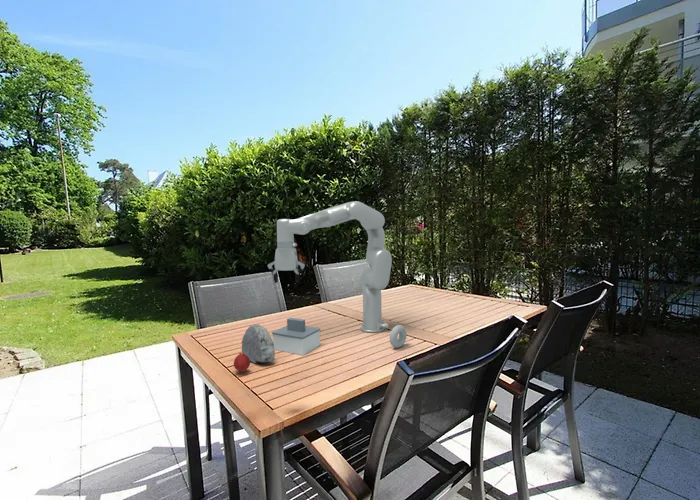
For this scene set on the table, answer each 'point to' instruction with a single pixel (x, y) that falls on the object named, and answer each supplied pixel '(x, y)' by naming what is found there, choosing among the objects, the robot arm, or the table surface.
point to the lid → (296, 329)
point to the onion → (241, 362)
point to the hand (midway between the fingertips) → (286, 282)
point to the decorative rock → (258, 344)
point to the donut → (394, 334)
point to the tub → (296, 343)
